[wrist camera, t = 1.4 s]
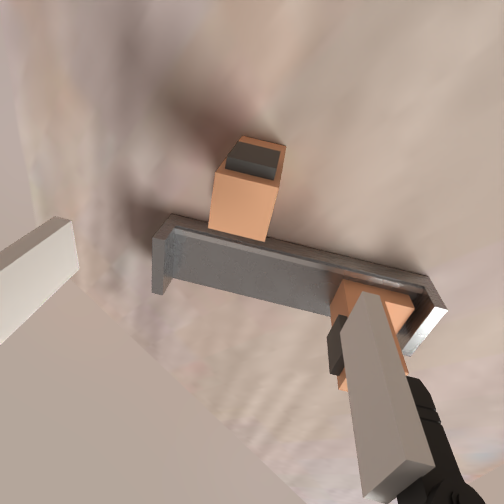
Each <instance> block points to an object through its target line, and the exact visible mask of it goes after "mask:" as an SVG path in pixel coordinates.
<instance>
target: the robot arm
mask: <svg viewBox="0 0 504 504" xmlns="http://www.w3.org/2000/svg"><path fill="white" fill-rule="evenodd" d="M78 270H79V262H78V256H77V250H76V244H75V237H74V231H73V225H72V220H68V219H64V218H60V217H56V216H55V217H53V218H51V219H50V220H48V221H47V222H45V223H44V224H42V225H41V226H39V227H38V228H36V229H34V230H33V231H31V232H30V233H28V234H27V235H25V236H24V237H22V238H21V239H19V240H18V241H16V242H14V243H13V244H11V245H10V246H9V247H7V248H5V249H4V250H2V251H1V252H0V345H1V344H2V343H3V342H4V341H5V340H6V339H7V338H8V337H9V336H10V335H11V334H12V333H13V332H14V331H15V330H17V329H18V328H19V327H20V326H21V325H22V323H24V322H25V321H26V320H27V319H28V318H29V317H30V316H31V315H32V314H33V313H34V312H35V311H36V310H37V309H38V308H39V307H40V306H42V304H44V303H45V302H46V301H47V300H48V299H49V298H50V297H51V296H52V295H53V294H54V293H55V292H56V291H57V290H58V289H59V288H60V287H61V286H62V285H63V284H64V283H66V282H67V280H69V279H70V278H71V277H72V276H73V275H74V274H75V273H76V272H77V271H78ZM340 337H341V344H342V351H343V358H344V366H345V373H346V380H347V387H348V394H349V401H350V408H351V415H352V422H353V430H354V437H355V444H356V451H357V458H358V465H359V472H360V479H361V487H362V494H363V498H365V499H369V500H373V501H377V502H381V503H385V504H388V503H390V502H391V501H392V500H393V499H395V498H396V497H397V501H398V504H485V502H484V500H483V499H482V498H481V497H480V496H479V494H478V493H477V492H476V491H475V490H474V489H473V488H472V487H470V486H469V485H468V484H466V483H465V482H464V480H463V478H462V475H461V473H460V471H459V468H458V465H457V463H456V460H455V457H454V455H453V452H452V450H451V447H450V444H449V442H448V439H447V437H446V434H445V431H444V429H443V426H442V425H441V421H440V418H439V416H438V413H437V412H436V408H435V405H434V403H433V400H432V397H431V395H430V393H429V392H428V390H427V389H426V387H425V386H424V385H423V383H422V382H421V381H420V379H417V378H413V377H409V376H406V375H405V372H404V369H403V366H402V363H401V360H400V357H399V354H398V351H397V348H396V345H395V342H394V338H393V335H392V332H391V329H390V326H389V323H388V320H387V317H386V314H385V311H384V308H383V305H382V302H381V299H380V296H379V295H376V294H372V293H368V292H364V291H362V293H361V295H360V296H359V298H358V300H357V302H356V304H355V306H354V308H353V309H352V311H351V313H350V315H349V317H348V319H347V320H346V322H345V324H344V326H343V328H342V330H341V332H340Z"/></svg>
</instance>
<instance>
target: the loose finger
mask: <svg viewBox="0 0 504 504" xmlns="http://www.w3.org/2000/svg"><path fill="white" fill-rule="evenodd" d="M285 151H286V146H283V145H279V144H275V143H271V142H266V141H262V140H258V139H254V138H250V137H246V136H242V137H241V138H240V140H239V141H238V142H237V143H236V145H235V146H234V148H233V149H232V150H231V152H230V153H229V154H228V156H227V157H226V158H225V160H224V161H223V163H222V164H221V165H220V167H219V168H218V169H217V171H216V172H215V178H214V185H213V193H212V200H211V208H210V216H209V223H208V228H210V229H214V230H218V231H222V232H226V233H230V234H234V235H238V236H242V237H246V238H250V239H254V240H258V241H263V242H265V239H266V235H267V231H268V227H269V224H270V220H271V216H272V212H273V208H274V205H275V201H276V197H277V193H278V189H279V185H280V179H281V173H282V168H283V162H284V156H285Z"/></svg>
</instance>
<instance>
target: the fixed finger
mask: <svg viewBox="0 0 504 504" xmlns="http://www.w3.org/2000/svg"><path fill="white" fill-rule="evenodd" d="M362 291H364V292H368V293H372V294H376V295H379V296H380V299H381V302H382V305H383V308H384V311H385V314H386V317H387V320H388V323H389V326H390V329H391V332H392V335H393V338H394V342H395V345H396V348H397V351H398V354H399V357H400V360H401V363H402V366H403V369H404V372H405V375H406V376H407V375H408V374H409V372H408V369H407V366H406V363H405V360H404V357H403V354H402V351H401V348H400V345H399V342H398V339H397V336H396V335H397V333H398V332H399V330H400V329H401V328H402V326H403V325H404V323H405V322H406V321H407V319H408V318H409V316H410V315H411V314H412V312H413V311H414V309H415V308H414V305H413V303H412V301H411V298H410V296H409V295H407V294H403V293H399V292H394V291H390V290H386V289H382V288H378V287H374V286H370V285H366V284H362V283H358V282H354V281H350V280H346V279H342V282H341V284H340V286H339V288H338V290H337V292H336V294H335V296H334V298H333V300H332V302H331V304H330V314H331V323H332V328H331V330H330V332H329V334H328V336H327V345H328V357H329V369H330V374H333V375H337V380H338V389H339V390H343V391H347V392H348V387H347V380H346V373H345V366H344V358H343V351H342V344H341V337H340V332H341V330H342V328H343V326H344V324H345V322H346V320H347V319H348V317H349V315H350V313H351V311H352V309H353V308H354V306H355V304H356V302H357V300H358V298H359V296H360V295H361V293H362Z"/></svg>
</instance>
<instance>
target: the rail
mask: <svg viewBox="0 0 504 504" xmlns="http://www.w3.org/2000/svg"><path fill="white" fill-rule="evenodd" d="M173 278H176V279H180V280H184V281H188V282H192V283H196V284H200V285H204V286H208V287H212V288H216V289H220V290H224V291H228V292H232V293H236V294H240V295H244V296H248V297H253V298H257V299H261V300H265V301H269V302H273V303H277V304H281V305H285V306H289V307H293V308H297V309H301V310H305V311H309V312H313V313H317V314H321V315H325V316H329V317H331V314H330V304H331V302H332V300H333V298H334V296H335V294H336V292H337V290H338V288H339V286H340V284H341V282H342V279H346V280H350V281H354V282H358V283H362V284H366V285H370V286H374V287H378V288H382V289H386V290H390V291H394V292H399V293H403V294H407V295H409V296H410V298H411V301H412V303H413V305H414V308H415V309H414V311H413V312H412V314H411V315H410V316H409V318H408V319H407V321H406V322H405V323H404V325H403V326H402V328H401V329H400V330H399V332H398V333H397V335H396V336H397V339H398V342H399V345H400V348H401V351H402V354H403V355H406V356H410V357H411V355H412V354H413V353H414V352H415V350H416V349H417V348H418V347H419V345H420V344H421V343H422V342H423V340H424V339H425V338H426V337H427V335H428V334H429V333H430V332H431V330H432V329H433V328H434V327H435V325H436V324H437V323H438V322H439V320H440V319H441V318H442V317H443V315H444V314H445V313H446V312H447V308H446V306H445V304H444V303H443V301H442V299H441V297H440V296H439V294H438V292H437V290H436V289H435V287H434V285H433V283H432V281H431V280H430V278H429V277H428V276H424V275H420V274H415V273H411V272H407V271H403V270H399V269H395V268H391V267H387V266H383V265H379V264H375V263H371V262H367V261H362V260H358V259H354V258H350V257H346V256H342V255H338V254H334V253H330V252H326V251H322V250H318V249H314V248H310V247H305V246H301V245H297V244H293V243H289V242H285V241H281V240H277V239H273V238H269V237H266V239H265V242H263V241H258V240H254V239H250V238H246V237H242V236H238V235H234V234H230V233H226V232H222V231H218V230H214V229H210V228H208V222H204V221H199V220H195V219H191V218H187V217H183V216H179V215H175V214H171V215H170V216H169V218H168V219H167V220H166V221H165V223H164V224H163V225H162V226H161V227H160V229H159V230H158V231H157V232H156V234H155V235H154V236H153V237H152V293H155V294H159V295H163V294H164V292H165V291H166V289H167V287H168V285H169V284H170V282H171V280H172V279H173Z"/></svg>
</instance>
